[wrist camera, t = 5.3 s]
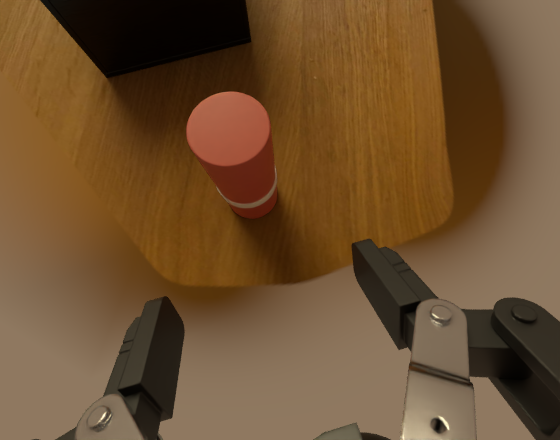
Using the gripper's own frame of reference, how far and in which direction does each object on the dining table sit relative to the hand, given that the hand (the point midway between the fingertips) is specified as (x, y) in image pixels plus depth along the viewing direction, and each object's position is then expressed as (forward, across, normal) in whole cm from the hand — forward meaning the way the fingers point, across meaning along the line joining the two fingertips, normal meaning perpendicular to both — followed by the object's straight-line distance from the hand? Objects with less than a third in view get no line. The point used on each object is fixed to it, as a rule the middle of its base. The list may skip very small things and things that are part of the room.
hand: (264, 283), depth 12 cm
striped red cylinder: (+17, 0, +4) cm, 17 cm away
